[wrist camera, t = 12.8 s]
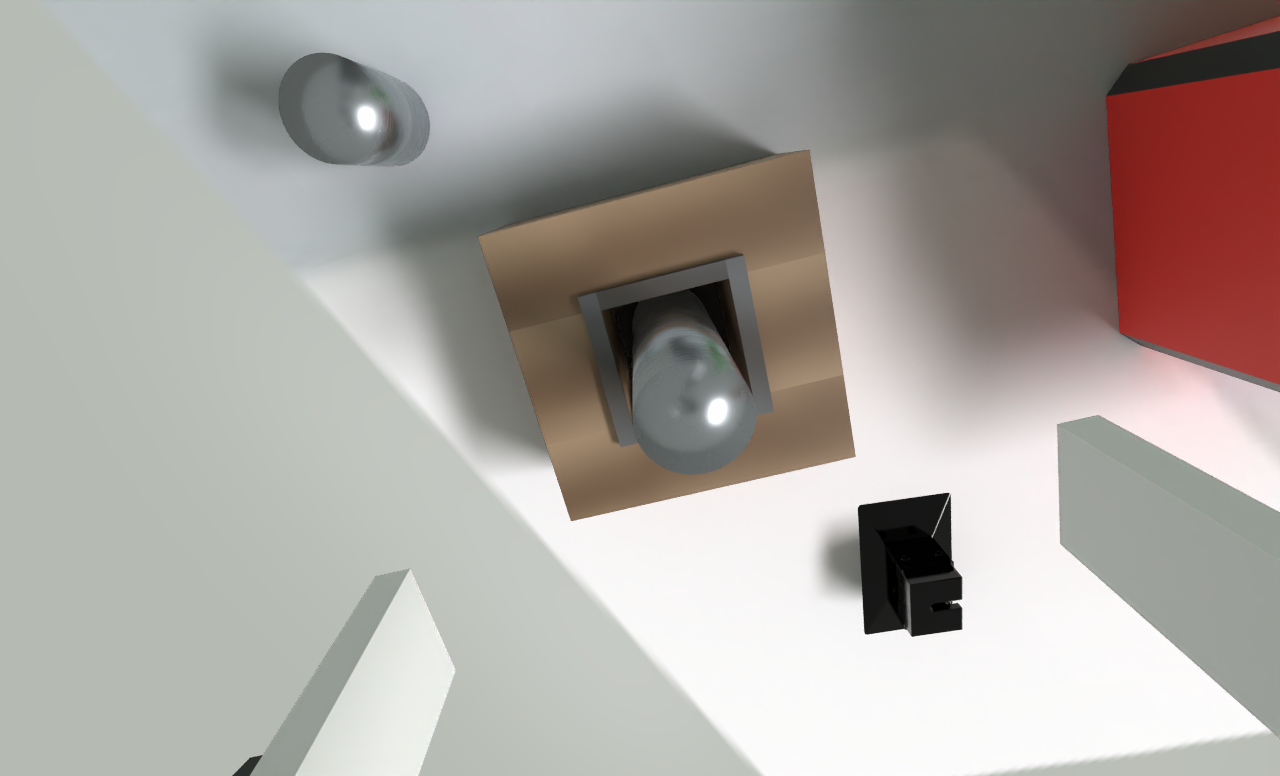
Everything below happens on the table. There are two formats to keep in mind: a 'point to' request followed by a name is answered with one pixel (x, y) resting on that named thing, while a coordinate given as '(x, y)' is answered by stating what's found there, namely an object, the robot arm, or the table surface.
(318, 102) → the short pin
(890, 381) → the table surface
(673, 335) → the long pin
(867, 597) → the black notched mounting plate
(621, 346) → the hole block
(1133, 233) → the jack-in-the-box
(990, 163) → the table surface
